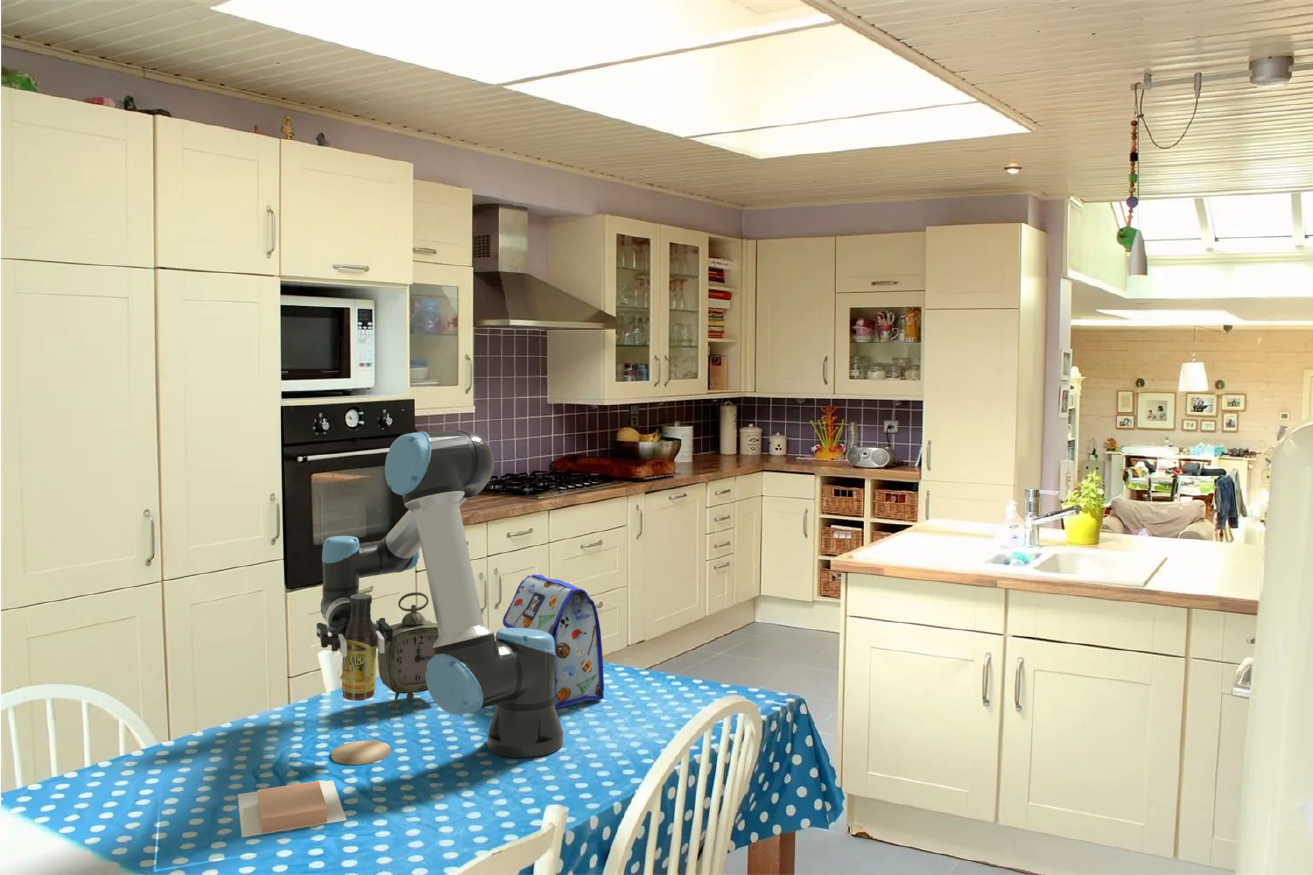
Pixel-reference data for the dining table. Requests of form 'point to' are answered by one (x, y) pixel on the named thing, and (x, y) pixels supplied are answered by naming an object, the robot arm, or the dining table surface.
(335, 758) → the cork coaster
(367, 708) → the dining table surface
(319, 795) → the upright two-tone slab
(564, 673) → the lunch bag
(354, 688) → the sauce bottle
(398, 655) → the tabletop clock
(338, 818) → the white mat
